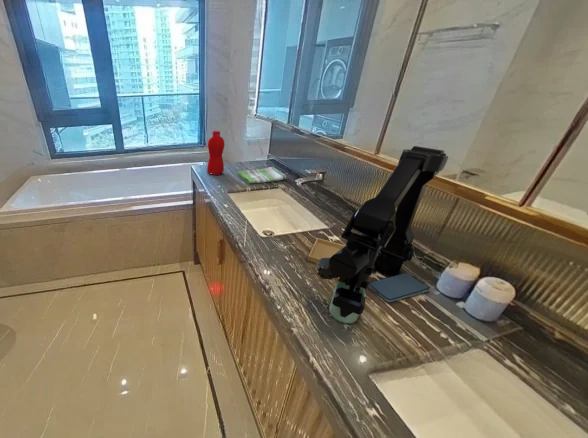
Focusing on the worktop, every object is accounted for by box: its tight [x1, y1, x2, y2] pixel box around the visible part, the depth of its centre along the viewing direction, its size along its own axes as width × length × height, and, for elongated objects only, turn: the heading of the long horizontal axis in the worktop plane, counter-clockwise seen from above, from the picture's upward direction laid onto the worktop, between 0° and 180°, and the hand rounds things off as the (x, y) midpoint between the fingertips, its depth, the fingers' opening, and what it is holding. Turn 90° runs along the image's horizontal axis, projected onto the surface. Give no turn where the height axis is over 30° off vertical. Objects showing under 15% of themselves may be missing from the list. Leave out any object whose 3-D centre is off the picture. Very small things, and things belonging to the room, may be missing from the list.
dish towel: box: [237, 166, 287, 185], centre depth 164 cm, size 17×23×4 cm
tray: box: [307, 237, 346, 265], centre depth 96 cm, size 15×13×2 cm
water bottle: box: [206, 130, 225, 176], centre depth 167 cm, size 9×11×25 cm
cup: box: [328, 281, 367, 324], centre depth 73 cm, size 7×7×8 cm
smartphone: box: [367, 272, 430, 303], centre depth 82 cm, size 8×2×15 cm
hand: (344, 307), depth 74 cm, fingers closed on cup, 7 cm apart
